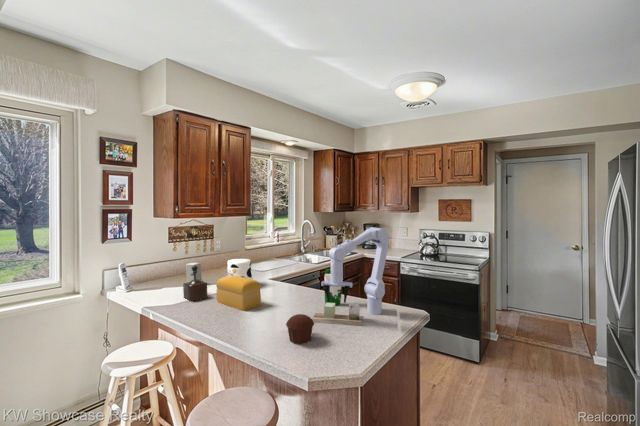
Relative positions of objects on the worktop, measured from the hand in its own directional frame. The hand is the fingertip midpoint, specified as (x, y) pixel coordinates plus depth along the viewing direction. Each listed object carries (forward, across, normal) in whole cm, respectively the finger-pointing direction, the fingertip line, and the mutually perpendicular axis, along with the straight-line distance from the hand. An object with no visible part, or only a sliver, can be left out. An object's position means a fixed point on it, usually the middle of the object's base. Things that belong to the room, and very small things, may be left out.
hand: (336, 301), depth 151 cm
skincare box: (+10, -106, +49) cm, 117 cm away
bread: (+10, -59, +18) cm, 62 cm away
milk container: (+10, -74, +52) cm, 91 cm away
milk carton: (+10, -6, +24) cm, 27 cm away
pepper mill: (+10, -91, +25) cm, 94 cm away
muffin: (+10, -12, -22) cm, 27 cm away
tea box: (+9, -4, +3) cm, 10 cm away
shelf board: (+10, 0, +1) cm, 10 cm away
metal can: (+9, +8, +2) cm, 12 cm away
